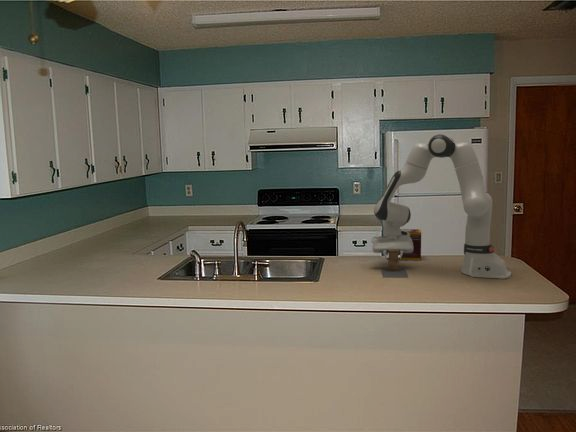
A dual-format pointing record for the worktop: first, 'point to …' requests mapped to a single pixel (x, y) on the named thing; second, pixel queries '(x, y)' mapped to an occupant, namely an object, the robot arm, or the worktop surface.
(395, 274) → the rubber mat
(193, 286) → the worktop surface
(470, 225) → the robot arm
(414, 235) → the supplement box
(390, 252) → the walnut block
